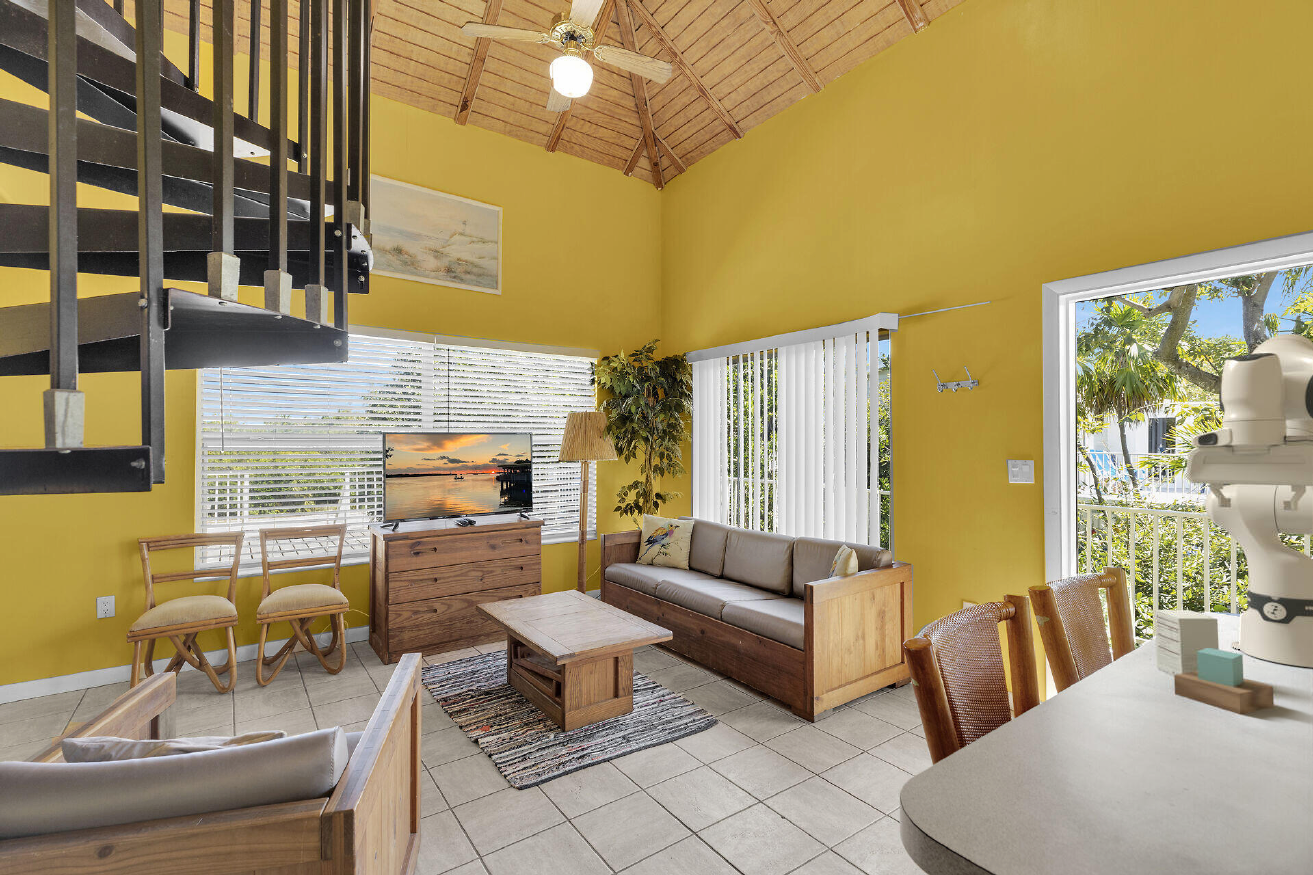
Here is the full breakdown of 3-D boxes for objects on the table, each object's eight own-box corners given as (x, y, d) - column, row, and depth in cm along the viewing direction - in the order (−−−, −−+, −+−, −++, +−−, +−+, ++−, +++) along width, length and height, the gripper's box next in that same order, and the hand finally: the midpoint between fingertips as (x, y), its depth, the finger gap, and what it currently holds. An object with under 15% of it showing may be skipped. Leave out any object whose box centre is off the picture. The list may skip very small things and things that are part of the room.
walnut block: (1207, 689, 120) (1206, 668, 120) (1273, 708, 110) (1272, 686, 110) (1174, 696, 116) (1174, 674, 116) (1240, 716, 107) (1239, 693, 107)
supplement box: (1193, 669, 130) (1190, 609, 130) (1221, 682, 123) (1219, 618, 123) (1155, 668, 131) (1153, 608, 131) (1181, 680, 123) (1179, 617, 124)
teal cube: (1208, 673, 117) (1207, 647, 117) (1243, 681, 113) (1242, 654, 113) (1198, 678, 114) (1197, 651, 115) (1233, 686, 110) (1232, 658, 110)
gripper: (1338, 435, 110) (1341, 512, 110) (1195, 438, 128) (1197, 505, 127) (1326, 434, 107) (1329, 513, 107) (1181, 438, 125) (1184, 505, 124)
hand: (1256, 508), depth 117 cm, fingers open, 8 cm apart
